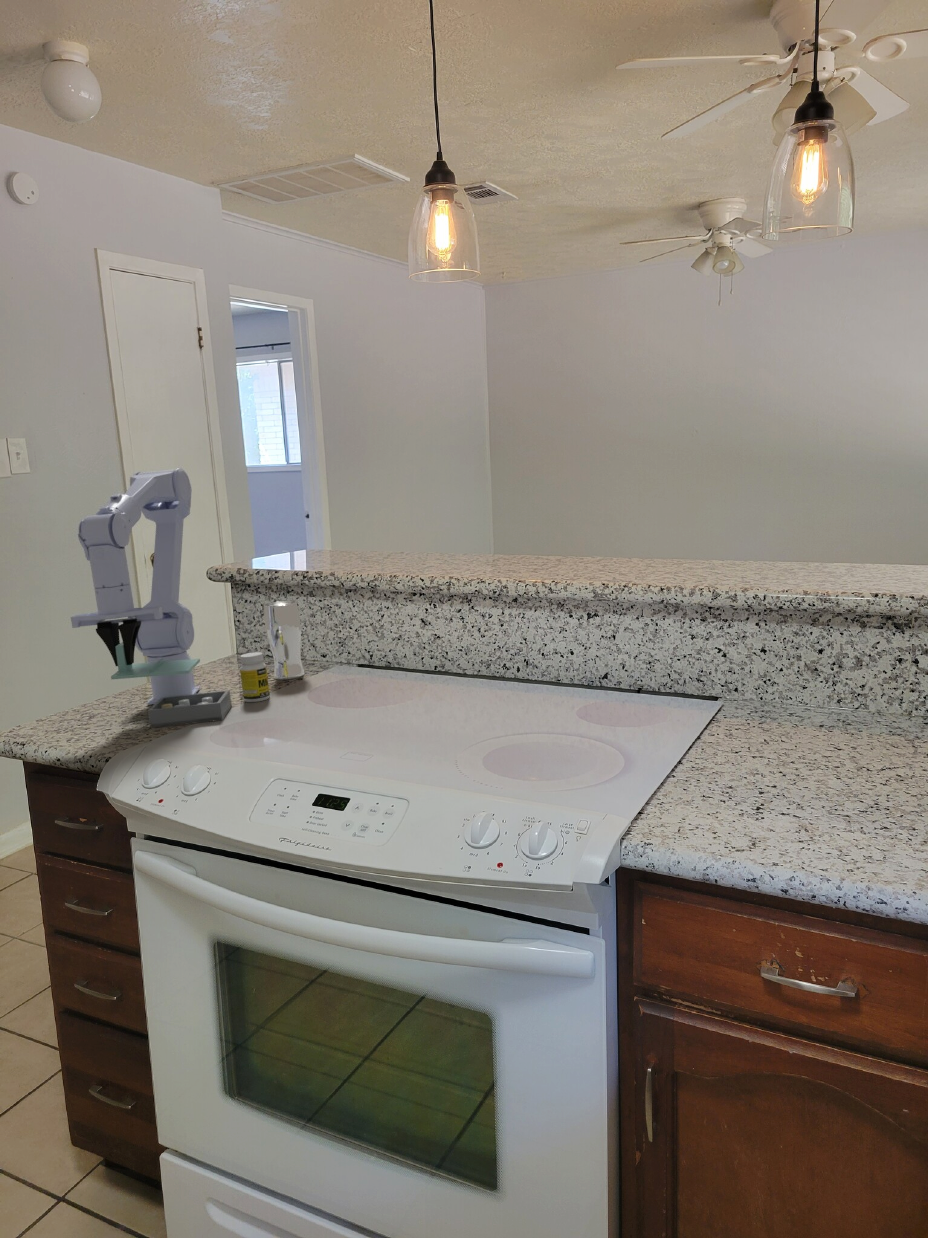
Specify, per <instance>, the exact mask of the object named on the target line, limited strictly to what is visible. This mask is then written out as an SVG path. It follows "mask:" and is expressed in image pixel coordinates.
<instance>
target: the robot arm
mask: <svg viewBox="0 0 928 1238" xmlns="http://www.w3.org/2000/svg"><path fill="white" fill-rule="evenodd" d="M191 503H192V484H191V482H190V478H189V476H188V473H187V472H186V471H185V470H184V469H183V468H181V467H178V468H175V469H164V470H154V471H145V472H141V471H135V472H134V473H133V475H131V476H130V477H129V488H128V489H127V490H126V492H125V493H124V494H123V493H114V494H113V493H112V495H110V496H109V501H108V502H107V503H106V504H104V505H103V506H101V507H100V508H99V510H98V511H97V512H96V513H95V514H94V515H87V516H85V517H84V518H83V519H82V520H81V521H80V522H79V524H78V533H77V536H78V540H79V543H80V545H81V547H82V549H83V551H84V555H85V558H86V560H87V561H89V563H90V565H89V566H90V570H91V576H92V582H93V587H94V588H93V589H94V594H95V600H96V607H97V612H90V613H82V614H81V613H80V614H74V615H72V616H70V620H71V621H70V622H71V627H72V629H76V628H80V627H81V628H82V627H90V626H96V628H95V632H96V634H97V635H98V636H99V638H100V639H101V640H102V641H103V643H104V645H105V646H106V648H107V649H108V651H109V653H110V655H111V658H112V659H113V662H114V664H115V667H118V663H117V655H116V647H115V646H117V645H118V644H120V643H121V642H123V645H124V652H125V658H126V663H127V665H131V664H135V648H136V649H137V650H138V651H139V652H140V653H142V656H143V657H146V659H147V663H150V662H158V661H159V660H160V659H163V660H164V661H176V660H189V659H191V656H190V655H189V653H188V652H187V651H188V650H190V648H191V646H192V645H193V643H194V641H195V628H194V625H193V623H194V621H193V613H192V612H191V611H190V609H188V608H187V607H186V606H185V605H183V604H182V603H180V601H179V600H180V599H179V598H180V585H181V568H182V567H181V565H182V554H183V553H182V552H183V538H184V537H183V536H184V535H183V533H184V520H185V519H186V518H187V517H188V516H189V515H190V513H191V506H192V504H191ZM142 514H143V516H144V518H145V519H146V520H149V521H152V522H153V523H155V534H154V535H155V538H154V550H153V551H154V552H153V565H152V579H151V593H150V600H149V602H147V603H145V605H144V606H143V607H135V604H134V598H133V593H132V592H133V591H132V585H131V579H130V572H129V567H128V566H129V565H128V560H127V553H126V548H125V547H126V546H128V545H129V542H130V538H131V537H130V536H131V533H132V528H133V527H134V526H136V525H137V523H138V522H139V521H140V519H141V517H142ZM120 623H121V624H120ZM120 636H121V640H122V641H121V640H120ZM149 678H150V679H149V681H150V685H151V692H152V697H151V698H150V699H149V700H148V701H146V705H147V706H149V705H154V704H155V703H156V702H157V701H158V700H159V699H160V698H161V697H170V696H179V695H189V694H198V692H199V690H200V689H201V687H200V686H196V685H195V679H194V673H193V670H192V671H191V672H190V673H188V674H175V675H162V676H149Z"/></svg>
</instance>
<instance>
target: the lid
mask: <svg viewBox="0 0 928 1238" xmlns="http://www.w3.org/2000/svg"><path fill="white" fill-rule="evenodd" d="M115 647H116V655H117V663H118V666H117V670H118V671H116V672H115V673H114V674H112V675H111V676H110V680H119V679H120V680H122V679H132V678H133V679H134V678H136V679H137V678H147V677H148V678H150V676H162V675H175V674H188V673H190V672H191V671H193V670H194V669H195V667H197V665H198V664H199V663H201V662H200V661H201V659H200V658H190V659H189V660H176V661H164V660H163V659H160V660H159V661H158V662H150V663H148V662H140V663H133V664H131V665H127V663H126V658H125V652H124V645H123V641H120V644H118V645H117V646H115Z"/></svg>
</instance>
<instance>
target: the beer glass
mask: <svg viewBox="0 0 928 1238" xmlns="http://www.w3.org/2000/svg"><path fill="white" fill-rule="evenodd" d="M263 615H264V626H265V632H266V637H267V640H268V643H269V647H270V650H271V653H272V656H273V662H274V671H273V673H274V674H273V678H274V679H275V680H279V681H281V680H283V681H284V680H285V681H286V680H292V679H297V678H301V677H303V676H304V675H305V670H304V666H303V663H302V659H301V658H302V657H301V642H302V625H301V624H302V623H301V616H300V612H299V607H298V601H297V600H295V599H294V600H293V599H292V600H291V599H289V600H287V599H286V600H279V601H272V602H268V603H265V604H263Z"/></svg>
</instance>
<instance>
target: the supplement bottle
mask: <svg viewBox="0 0 928 1238" xmlns="http://www.w3.org/2000/svg"><path fill="white" fill-rule="evenodd" d="M240 662H241V666H240V668H239V673H240V679H241V680H240V681H241V687H242V697H243V701H244V702H246V703H257V702H258V703H259V702H262V701H267V700H268V699H270V696H271V695H270V685H269V680H268V679H269V678H268V671H267V669H268V668H267V665H266V663H265V662H264V653H263V652H262V651H261V652H260V651H259V652H257V651H256V652H249V653H243V654H241V655H240Z"/></svg>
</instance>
